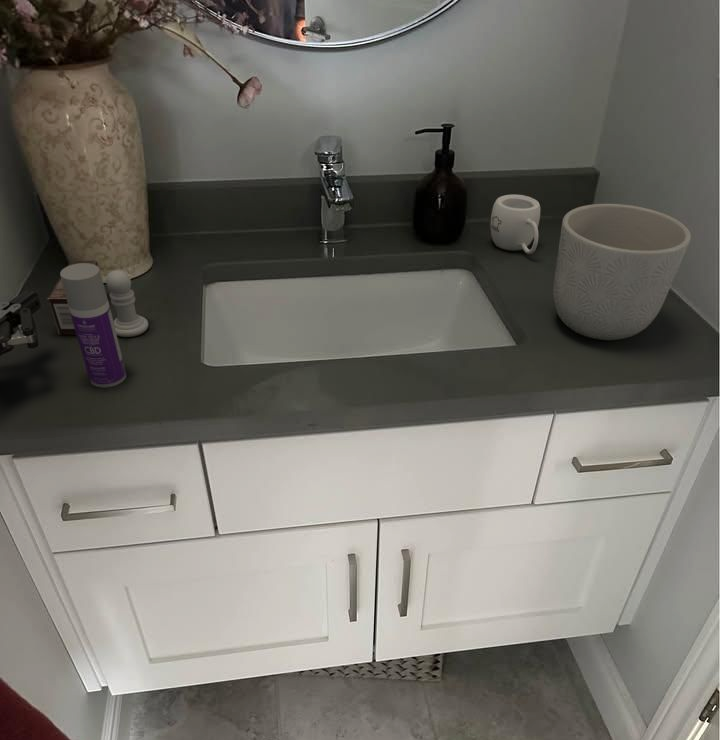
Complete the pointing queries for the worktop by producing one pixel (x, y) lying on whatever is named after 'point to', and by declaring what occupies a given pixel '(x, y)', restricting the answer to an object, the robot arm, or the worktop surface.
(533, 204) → the mug
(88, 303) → the container
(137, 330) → the chess piece
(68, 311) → the box
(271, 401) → the worktop surface
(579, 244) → the planter
